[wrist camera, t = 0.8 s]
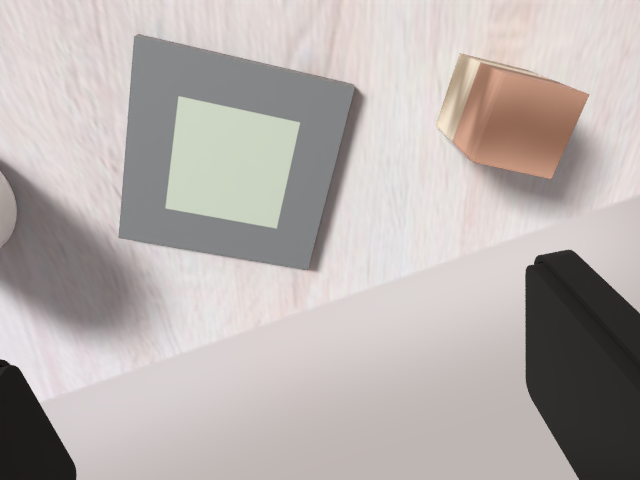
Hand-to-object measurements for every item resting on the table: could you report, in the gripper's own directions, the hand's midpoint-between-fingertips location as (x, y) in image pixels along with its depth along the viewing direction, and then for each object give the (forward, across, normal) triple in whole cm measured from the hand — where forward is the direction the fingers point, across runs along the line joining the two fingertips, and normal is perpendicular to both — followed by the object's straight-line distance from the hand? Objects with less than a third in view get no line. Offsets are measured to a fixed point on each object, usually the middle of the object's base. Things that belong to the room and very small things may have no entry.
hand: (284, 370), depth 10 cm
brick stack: (+29, -13, +4) cm, 32 cm away
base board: (+29, +4, +5) cm, 29 cm away
